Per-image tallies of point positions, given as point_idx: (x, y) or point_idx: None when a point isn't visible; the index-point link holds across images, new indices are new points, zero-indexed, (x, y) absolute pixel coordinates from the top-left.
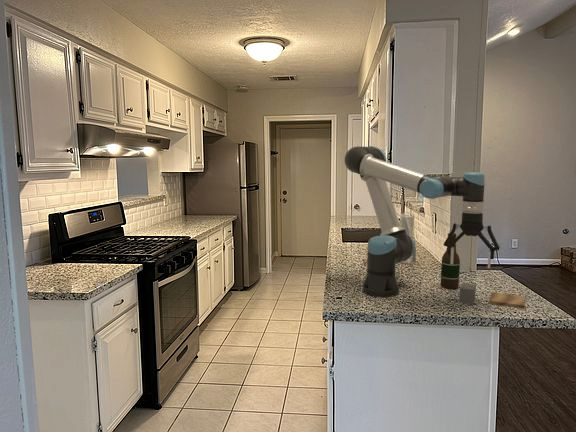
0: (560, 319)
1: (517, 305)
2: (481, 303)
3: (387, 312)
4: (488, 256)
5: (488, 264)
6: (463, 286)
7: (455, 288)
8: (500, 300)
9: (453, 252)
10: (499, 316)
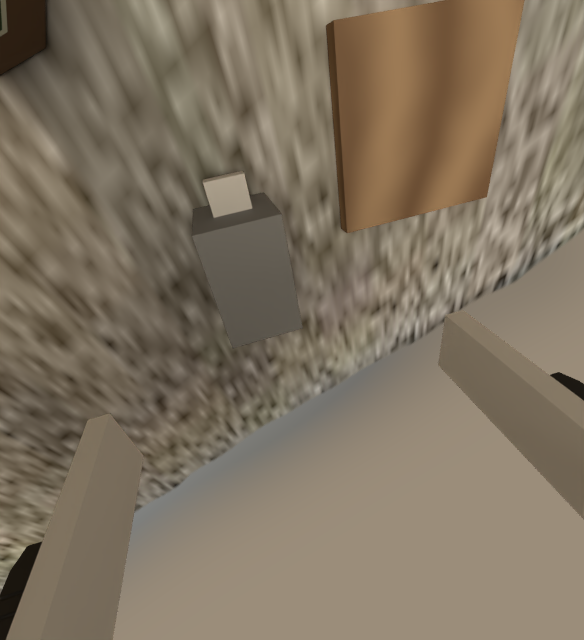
0: (566, 233)
1: (458, 202)
2: (310, 249)
3: None
4: (527, 455)
5: (465, 386)
6: (233, 309)
7: (44, 19)
8: (393, 191)
9: (77, 570)
10: (387, 339)
